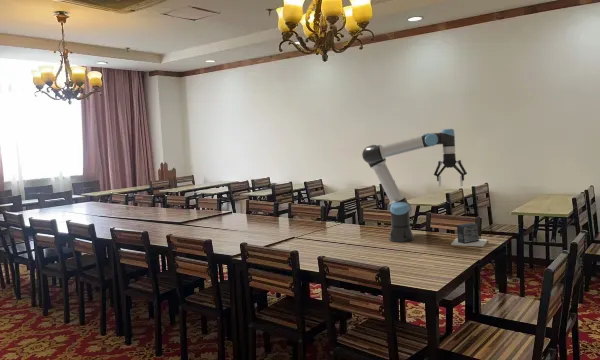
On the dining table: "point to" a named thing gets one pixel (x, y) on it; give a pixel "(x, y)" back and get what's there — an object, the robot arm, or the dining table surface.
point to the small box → (467, 233)
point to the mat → (478, 243)
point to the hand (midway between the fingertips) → (450, 186)
